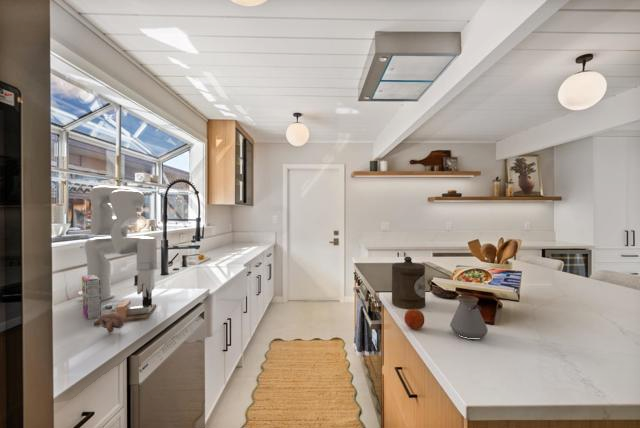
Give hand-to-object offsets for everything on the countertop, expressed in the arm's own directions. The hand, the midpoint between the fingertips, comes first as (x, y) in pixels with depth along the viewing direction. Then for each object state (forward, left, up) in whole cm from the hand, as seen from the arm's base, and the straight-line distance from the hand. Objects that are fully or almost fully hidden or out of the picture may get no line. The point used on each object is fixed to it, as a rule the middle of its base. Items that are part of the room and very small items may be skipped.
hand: (147, 307), depth 126 cm
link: (-7, -3, -1) cm, 8 cm away
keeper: (-8, -3, -1) cm, 9 cm away
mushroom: (-7, -20, -3) cm, 21 cm away
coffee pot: (+108, -70, -3) cm, 128 cm away
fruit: (+97, -54, -3) cm, 111 cm away
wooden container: (+112, -30, -3) cm, 116 cm away
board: (-7, 0, -2) cm, 8 cm away
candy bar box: (-22, +6, -3) cm, 23 cm away
